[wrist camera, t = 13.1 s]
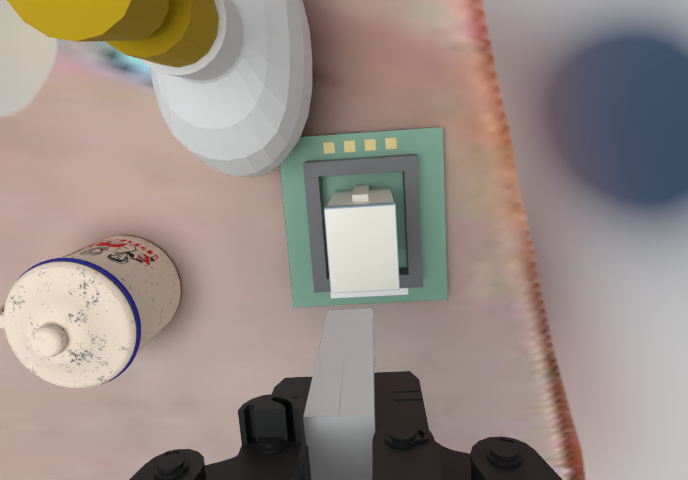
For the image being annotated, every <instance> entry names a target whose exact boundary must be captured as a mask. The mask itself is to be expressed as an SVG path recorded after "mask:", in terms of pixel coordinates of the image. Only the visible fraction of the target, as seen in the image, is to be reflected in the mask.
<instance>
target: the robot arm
mask: <svg viewBox="0 0 688 480" xmlns="http://www.w3.org/2000/svg"><path fill="white" fill-rule="evenodd" d="M238 416H239V424H240V432H241V440H242V446H241V449H240V451H239V454H238V456H236V457H234V458H231V459H228V460H225V461H222V462H217V463H213V464H209V465H205V464H204V457H203V456H202V455H201V454H200V453H199V452H197V451H194V450H190V449H177V450H173V451H172V450H171V451H168V452H165V453H163V454H161V455H159V456H156V457H154V458H153V459H152V460H150V461H149V462H148V463H146V464H145V465H144V466H143V467H142V468H141V469H140V470H139V471H138V472H137V473H136V474H135V475H134V476H133V477H132V478H131V479H130V480H562V479H561V478H560V477H559V476H558V475H557V473H556V472H555V471H554V470H553V469H552V468H551V467H550V466H549V465H548V464H547V463H546V462H545V460H544V459H543V458H542V457H541V456H540V455H539V454H538V453H537V452H536V451H535V450H534V449H533V448H531V447H530V446H529V445H527V444H526V443H524V442H521V441H519V440H516V439H513V438H508V437H489V438H486V439H483V440H480V441H478V442H477V443H476V444H475V445H474V446H473V447H472V450H471V454H468V453H463V452H458V451H454V450H450V449H448V448H446V447H443V446H442V445H440V444H439V443H437V442H436V441H435V440H434V437H433V435H432V433H431V432H430V431H429V428H428V423H427V417H426V412H425V407H424V402H423V397H422V392H421V387H420V382H419V379H418V378H417V377H416V376H414V375H413V374H412V373H411V372H410V371H406V372H382V373H376V358H375V342H374V326H373V309H372V308H362V309H342V310H328V312H327V316H326V321H325V325H324V329H323V334H322V338H321V342H320V347H319V351H318V355H317V360H316V364H315V368H314V373H313V377H295V378H284V379H283V380H282V381H281V382H280V383H279V384H278V385H276V386H275V387H274V390H273V393H272V394H271V395H263V396H260V397H257V398H254V399H251V400H249V401H248V402H246V403H245V404H243V405H242V406H241V407H240V409H239V410H238Z"/></svg>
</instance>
